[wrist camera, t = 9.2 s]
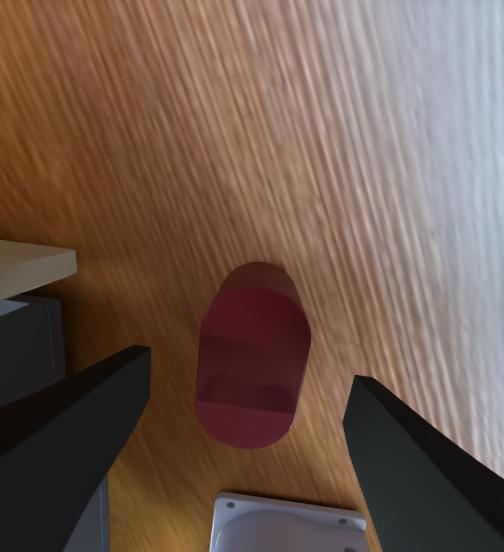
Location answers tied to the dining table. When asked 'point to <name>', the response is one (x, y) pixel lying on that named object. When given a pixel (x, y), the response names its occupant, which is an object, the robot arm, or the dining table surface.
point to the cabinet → (92, 524)
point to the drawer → (30, 318)
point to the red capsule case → (252, 358)
